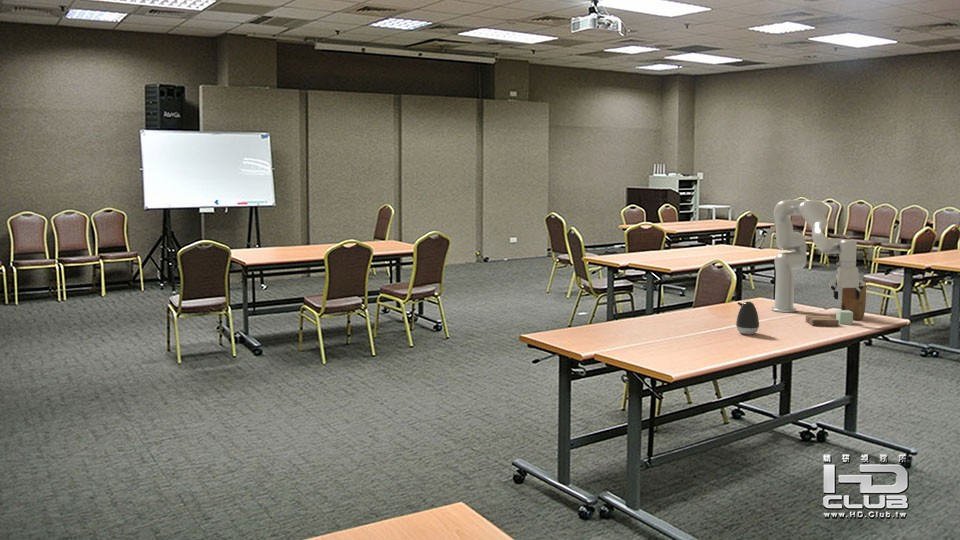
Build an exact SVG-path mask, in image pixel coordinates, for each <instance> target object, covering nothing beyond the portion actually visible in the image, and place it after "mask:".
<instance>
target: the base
mask: <svg viewBox="0 0 960 540" xmlns="http://www.w3.org/2000/svg"><path fill="white" fill-rule="evenodd" d="M805 323H806V324H809V325H810V326H812V327H836V328H838V327H839V325H840V324H839V320H837V319H836V317H833V316H831V315H805Z"/></svg>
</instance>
